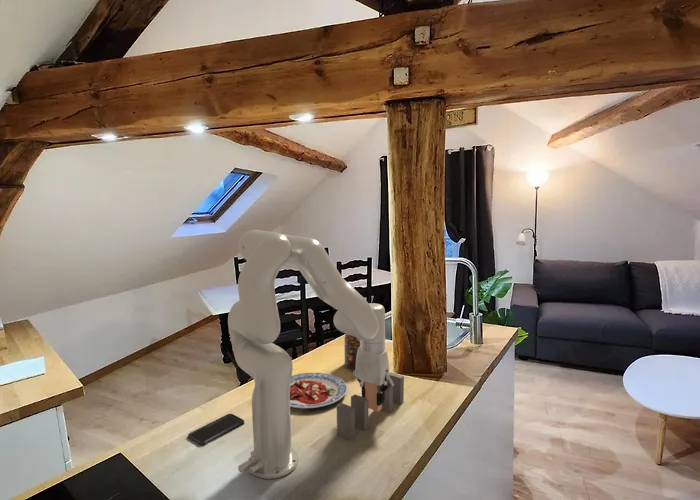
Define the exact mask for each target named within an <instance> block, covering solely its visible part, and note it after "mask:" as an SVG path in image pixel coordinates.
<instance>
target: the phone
mask: <svg viewBox="0 0 700 500" xmlns="http://www.w3.org/2000/svg"><path fill="white" fill-rule="evenodd" d="M244 425H245V419H243V418H241V417H239V416H237V415H235V414H234V413H228V414H225V415H223V416H221V417H220V418H217V419H216V420H215V419H214V420H213V421H211V422H209V423H207V424H205V425H203V426H201V427H200V428H197V429H195V430H193V431H191V432H189V433H188V434H187V437H188V439H189V440H191V441H192V442H194V443H195V444H197V445H198V446H200V447H205V446H207V445H209V444H210V442H211V443H213V442H214V441H216V440H218V439H219V438H221V437H223V436H225V435H228V434H229V433H231V432H232V431H234V430H236V429H238V428H241V427H242V426H244ZM208 443H209V444H208Z"/></svg>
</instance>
